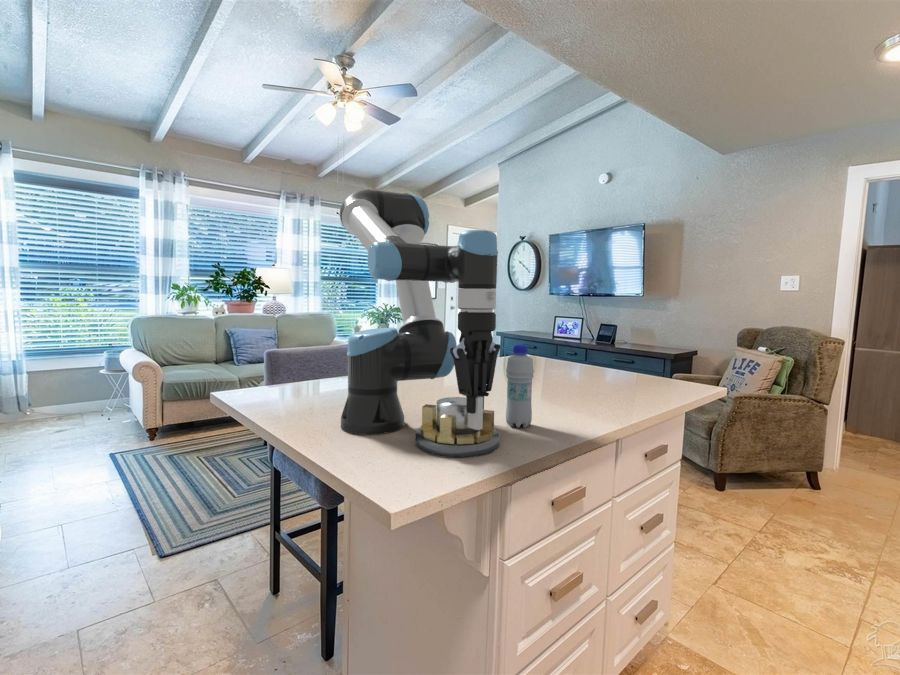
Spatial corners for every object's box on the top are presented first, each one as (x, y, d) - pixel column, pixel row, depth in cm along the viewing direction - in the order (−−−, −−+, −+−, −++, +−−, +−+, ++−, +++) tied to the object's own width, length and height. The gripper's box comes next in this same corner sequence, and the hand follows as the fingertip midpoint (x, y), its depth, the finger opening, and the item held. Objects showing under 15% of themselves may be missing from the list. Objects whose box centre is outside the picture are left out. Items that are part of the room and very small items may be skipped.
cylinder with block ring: (409, 438, 93) (410, 414, 92) (436, 419, 107) (436, 398, 107) (483, 447, 88) (483, 421, 87) (500, 426, 102) (500, 403, 102)
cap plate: (401, 451, 92) (401, 407, 91) (433, 427, 109) (433, 390, 108) (487, 462, 86) (488, 416, 85) (507, 435, 103) (507, 396, 102)
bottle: (531, 430, 107) (534, 346, 106) (503, 428, 109) (505, 345, 107) (532, 422, 114) (534, 343, 112) (505, 420, 115) (507, 342, 114)
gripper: (469, 312, 82) (467, 439, 84) (512, 310, 92) (509, 425, 94) (440, 310, 87) (438, 430, 89) (483, 309, 97) (481, 418, 99)
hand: (474, 427), depth 92 cm, fingers closed
